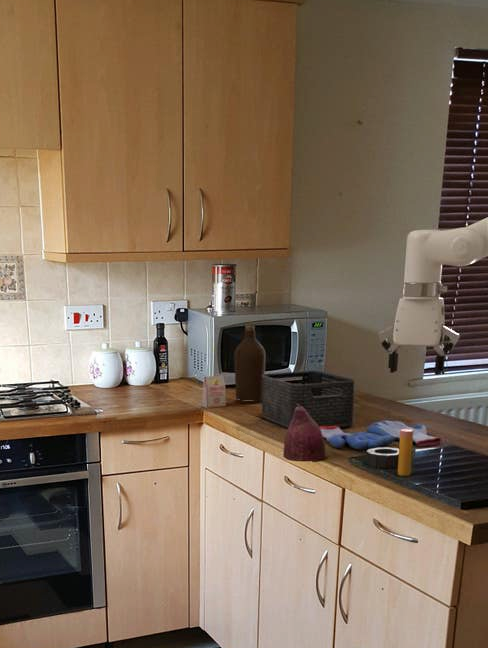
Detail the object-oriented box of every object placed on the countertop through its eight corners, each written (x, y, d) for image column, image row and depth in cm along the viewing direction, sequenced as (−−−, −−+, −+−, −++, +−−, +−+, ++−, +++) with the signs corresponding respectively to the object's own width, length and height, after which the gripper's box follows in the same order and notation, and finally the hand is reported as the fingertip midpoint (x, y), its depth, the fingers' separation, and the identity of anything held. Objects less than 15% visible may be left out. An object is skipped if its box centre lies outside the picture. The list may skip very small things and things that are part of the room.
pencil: (411, 473, 198) (414, 429, 194) (409, 476, 195) (412, 431, 192) (398, 472, 199) (401, 428, 195) (396, 475, 196) (399, 431, 193)
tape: (407, 461, 209) (408, 448, 208) (400, 469, 202) (401, 456, 201) (370, 458, 213) (371, 446, 212) (362, 466, 205) (363, 454, 204)
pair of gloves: (401, 427, 249) (402, 414, 247) (459, 443, 226) (460, 429, 225) (302, 438, 238) (302, 424, 237) (352, 456, 216) (353, 441, 214)
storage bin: (258, 416, 271) (258, 372, 267) (316, 412, 276) (317, 369, 271) (294, 433, 245) (295, 384, 241) (357, 427, 250) (359, 380, 245)
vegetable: (302, 476, 211) (297, 419, 203) (275, 463, 219) (269, 408, 211) (335, 459, 215) (331, 403, 207) (308, 447, 223) (303, 393, 215)
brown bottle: (260, 404, 293) (261, 327, 285) (230, 403, 297) (230, 327, 289) (268, 399, 302) (269, 324, 294) (239, 398, 306) (239, 324, 298)
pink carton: (202, 406, 293) (202, 376, 289) (221, 404, 294) (221, 374, 291) (206, 408, 289) (206, 377, 286) (225, 406, 291) (225, 376, 288)
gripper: (467, 290, 185) (459, 372, 191) (386, 290, 193) (381, 369, 199) (459, 292, 179) (452, 377, 185) (376, 292, 187) (371, 373, 193)
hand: (415, 372), depth 192 cm, fingers open, 9 cm apart
